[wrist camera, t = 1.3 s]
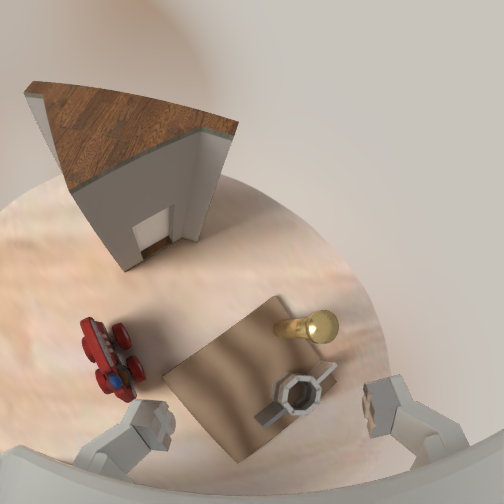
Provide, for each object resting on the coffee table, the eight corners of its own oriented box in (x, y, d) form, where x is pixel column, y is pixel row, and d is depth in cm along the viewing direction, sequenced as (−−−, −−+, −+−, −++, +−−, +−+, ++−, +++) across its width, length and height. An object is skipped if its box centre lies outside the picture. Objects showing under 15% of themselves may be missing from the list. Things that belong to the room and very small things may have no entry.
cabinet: (199, 233, 48) (238, 121, 22) (183, 290, 44) (203, 230, 18) (86, 200, 44) (32, 81, 18) (66, 252, 40) (-24, 164, 14)
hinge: (265, 430, 40) (276, 440, 36) (242, 404, 41) (251, 412, 36) (330, 375, 46) (346, 378, 41) (311, 348, 46) (326, 349, 41)
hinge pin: (279, 346, 45) (321, 350, 32) (264, 327, 45) (302, 324, 32) (297, 331, 46) (344, 329, 33) (283, 312, 47) (326, 303, 34)
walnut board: (236, 460, 39) (237, 463, 38) (162, 376, 40) (161, 377, 39) (333, 381, 47) (336, 381, 46) (272, 296, 48) (275, 295, 47)
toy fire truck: (114, 402, 37) (100, 420, 27) (82, 328, 38) (58, 327, 29) (153, 387, 39) (148, 403, 29) (120, 313, 41) (105, 308, 31)
